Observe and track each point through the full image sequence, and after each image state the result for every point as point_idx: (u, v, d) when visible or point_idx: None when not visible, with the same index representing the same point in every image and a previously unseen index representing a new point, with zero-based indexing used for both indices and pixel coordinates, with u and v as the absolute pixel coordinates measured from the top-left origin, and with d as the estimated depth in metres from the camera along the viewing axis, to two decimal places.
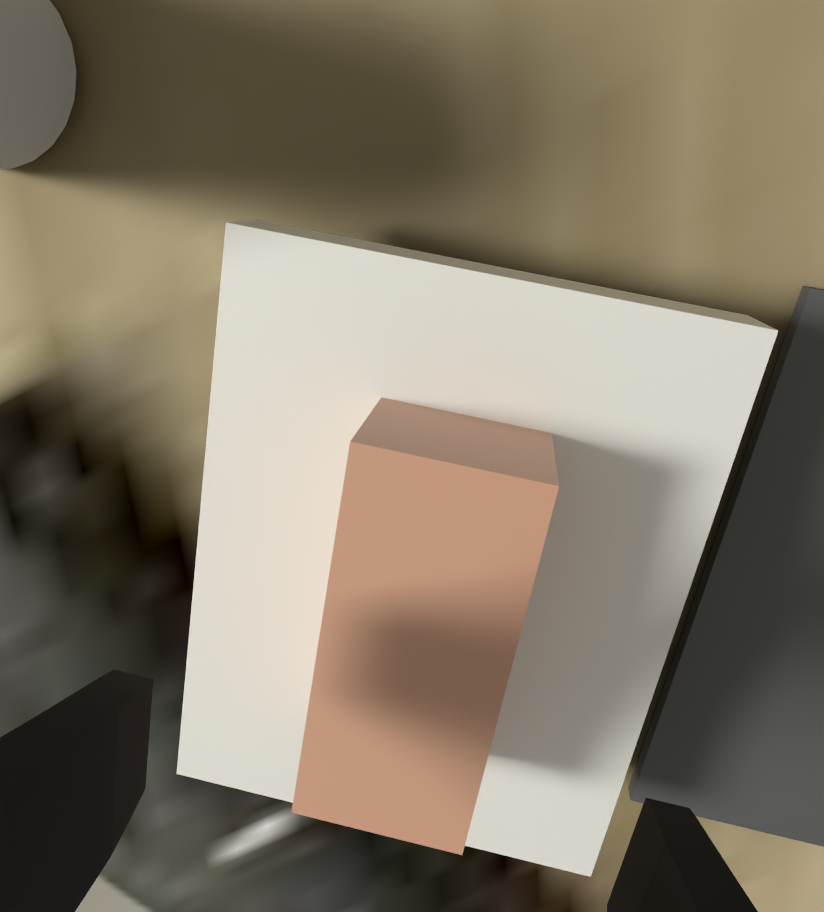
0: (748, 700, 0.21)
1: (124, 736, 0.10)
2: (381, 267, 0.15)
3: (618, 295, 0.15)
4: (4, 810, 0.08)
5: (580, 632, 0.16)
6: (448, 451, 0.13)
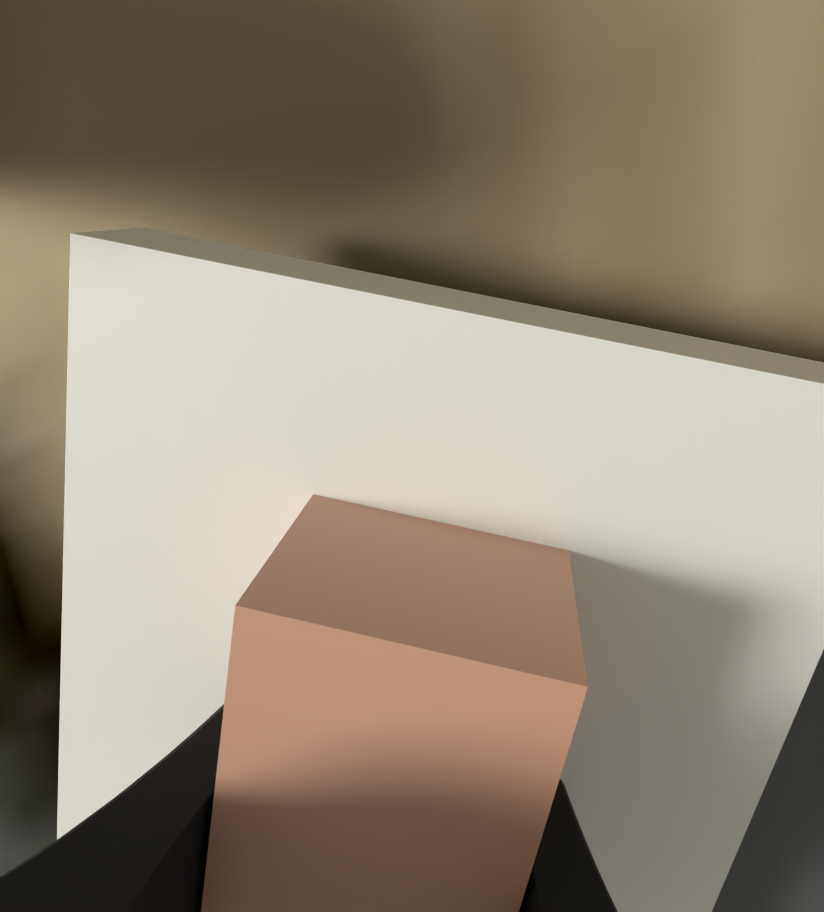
0: None
1: None
2: (307, 302, 0.09)
3: (670, 344, 0.10)
4: (170, 853, 0.08)
5: (607, 824, 0.11)
6: (403, 614, 0.08)
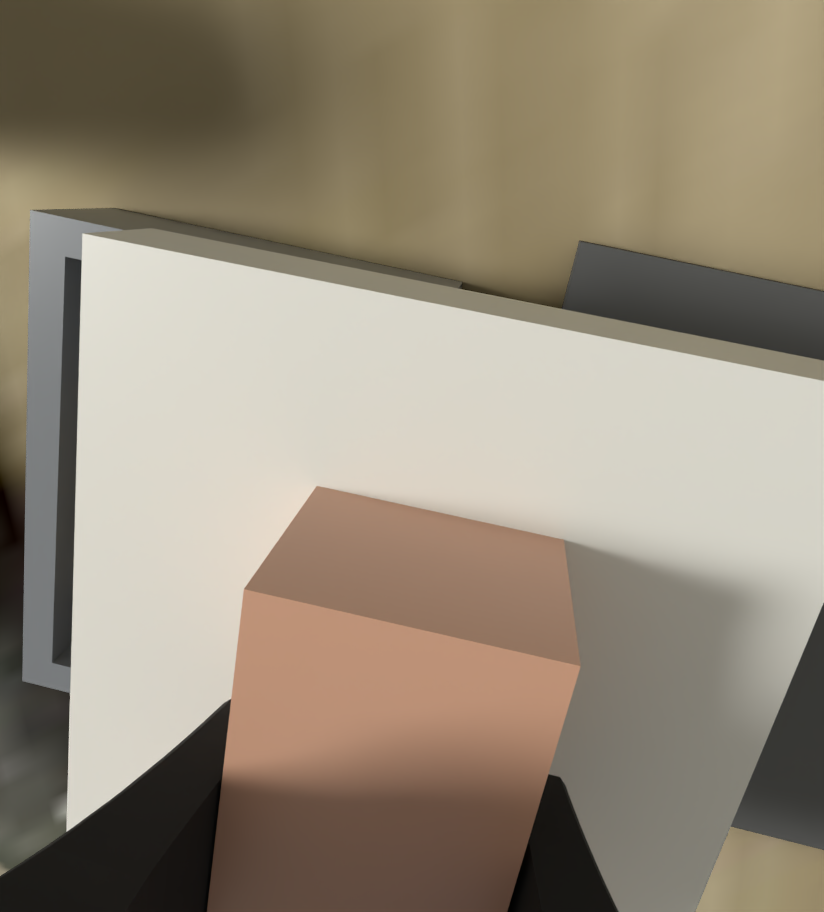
0: None
1: None
2: (311, 300, 0.10)
3: (662, 340, 0.10)
4: (169, 852, 0.08)
5: (602, 806, 0.12)
6: (403, 598, 0.08)
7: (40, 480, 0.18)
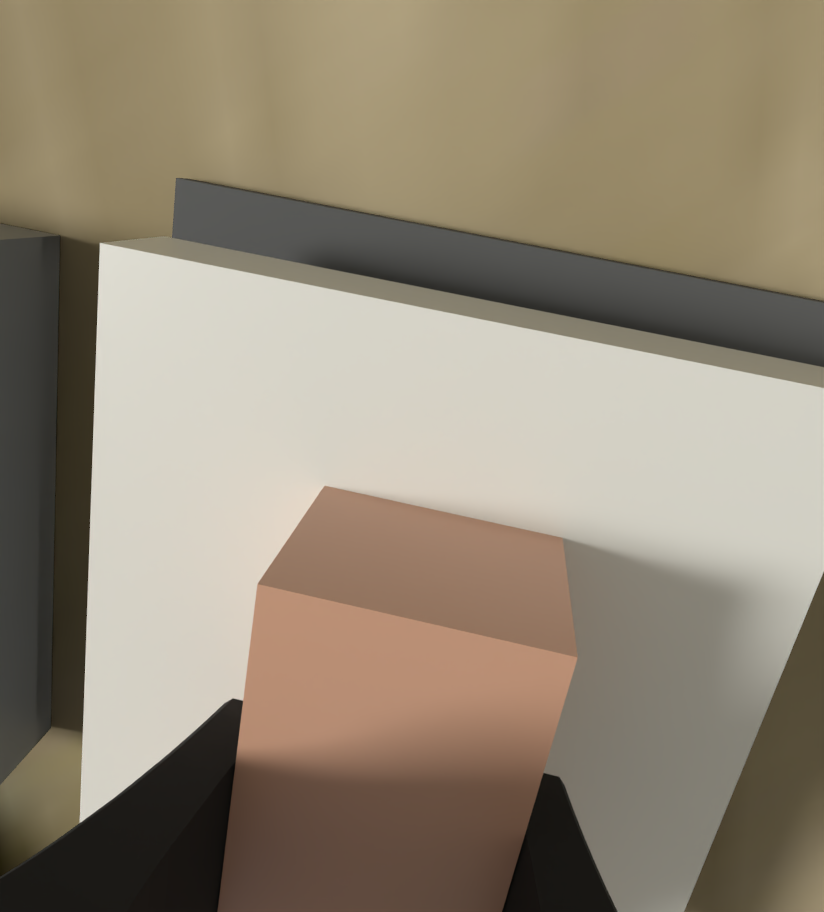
0: None
1: None
2: (320, 307, 0.10)
3: (657, 346, 0.10)
4: (170, 852, 0.08)
5: (599, 796, 0.12)
6: (410, 592, 0.09)
7: None
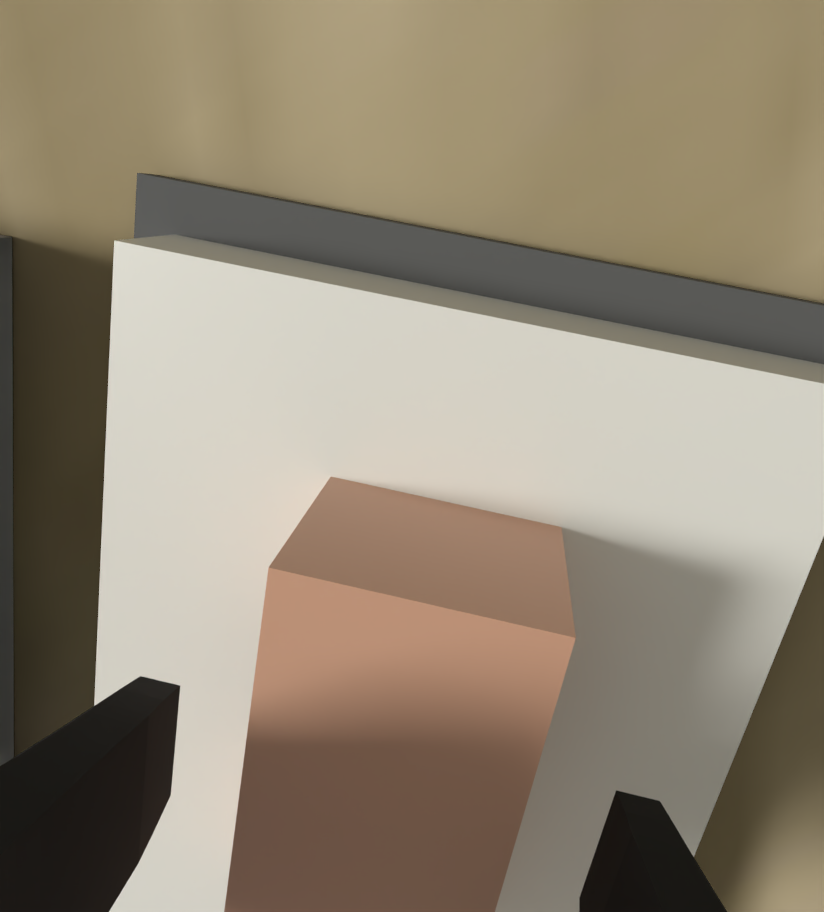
0: None
1: (153, 743, 0.10)
2: (327, 303, 0.11)
3: (653, 341, 0.11)
4: (41, 820, 0.08)
5: (596, 779, 0.12)
6: (414, 577, 0.09)
7: None
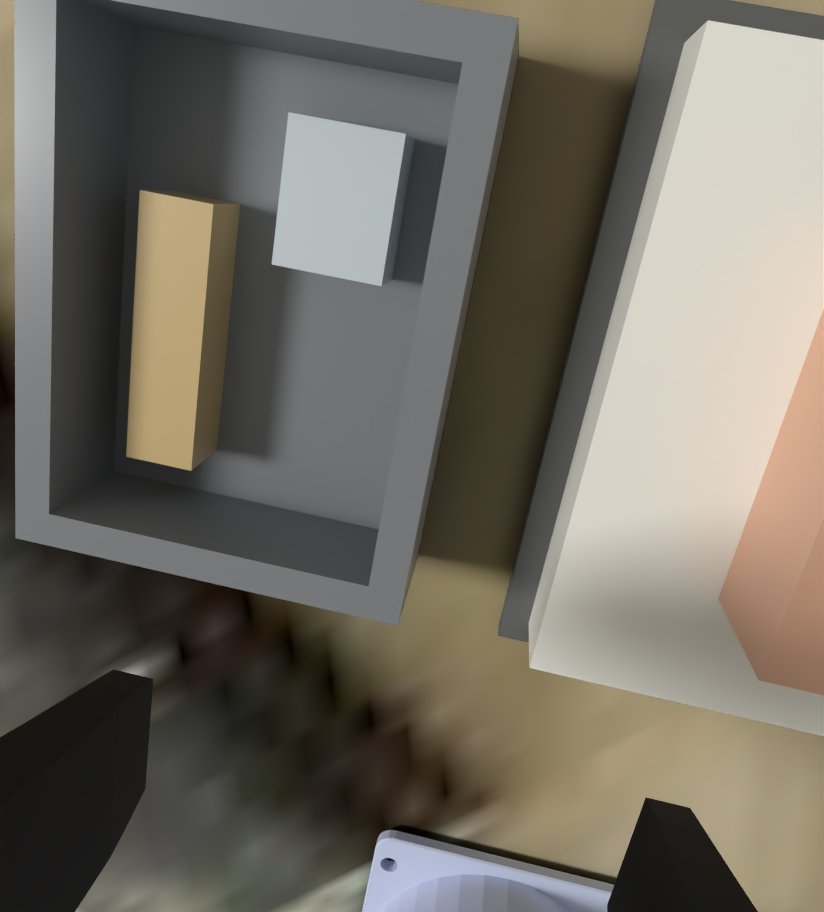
0: None
1: (124, 736, 0.10)
2: None
3: None
4: (4, 810, 0.08)
5: None
6: None
7: (32, 284, 0.15)
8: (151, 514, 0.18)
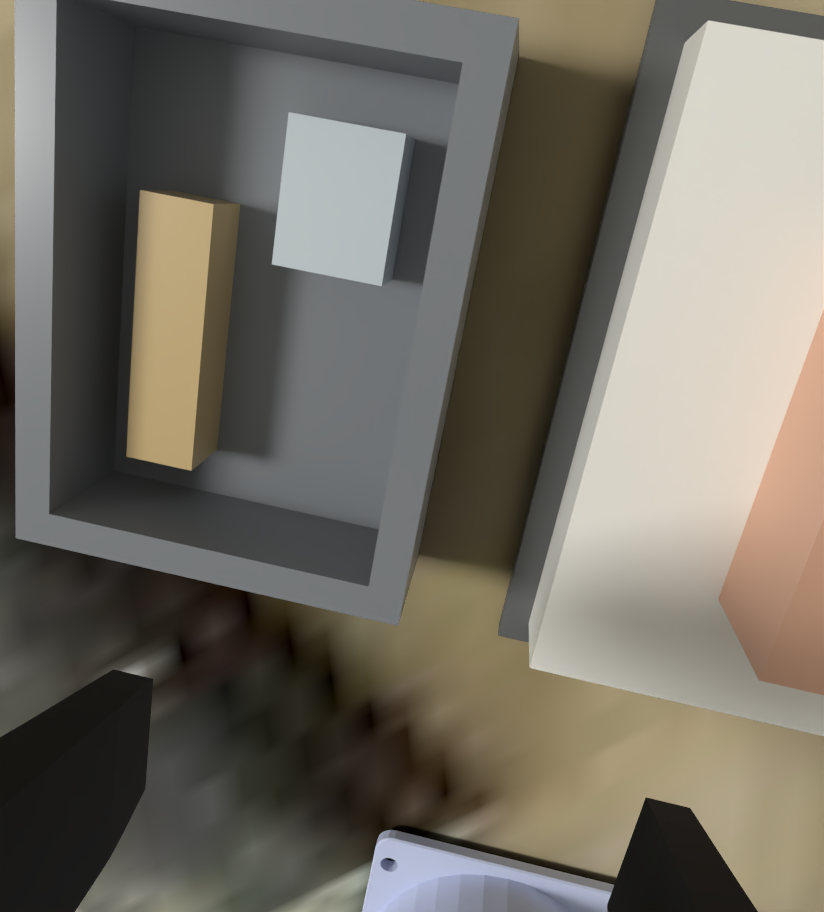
0: None
1: (124, 736, 0.10)
2: None
3: None
4: (4, 810, 0.08)
5: None
6: None
7: (32, 284, 0.15)
8: (151, 514, 0.18)
